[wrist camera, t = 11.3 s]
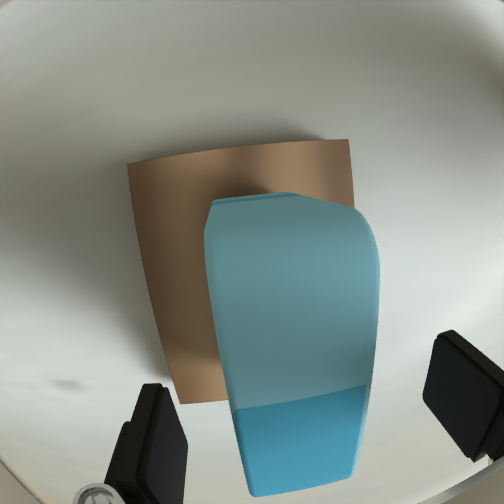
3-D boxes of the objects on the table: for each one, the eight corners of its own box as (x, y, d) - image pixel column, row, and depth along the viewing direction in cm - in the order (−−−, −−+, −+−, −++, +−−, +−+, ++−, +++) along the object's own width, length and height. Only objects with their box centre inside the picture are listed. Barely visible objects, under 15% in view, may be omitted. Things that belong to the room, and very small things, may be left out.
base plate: (332, 143, 21) (348, 139, 18) (341, 357, 26) (353, 376, 23) (139, 165, 20) (127, 164, 17) (183, 382, 25) (180, 404, 22)
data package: (212, 198, 19) (199, 233, 7) (285, 189, 19) (383, 213, 7) (235, 367, 21) (253, 509, 10) (297, 357, 22) (353, 488, 10)
